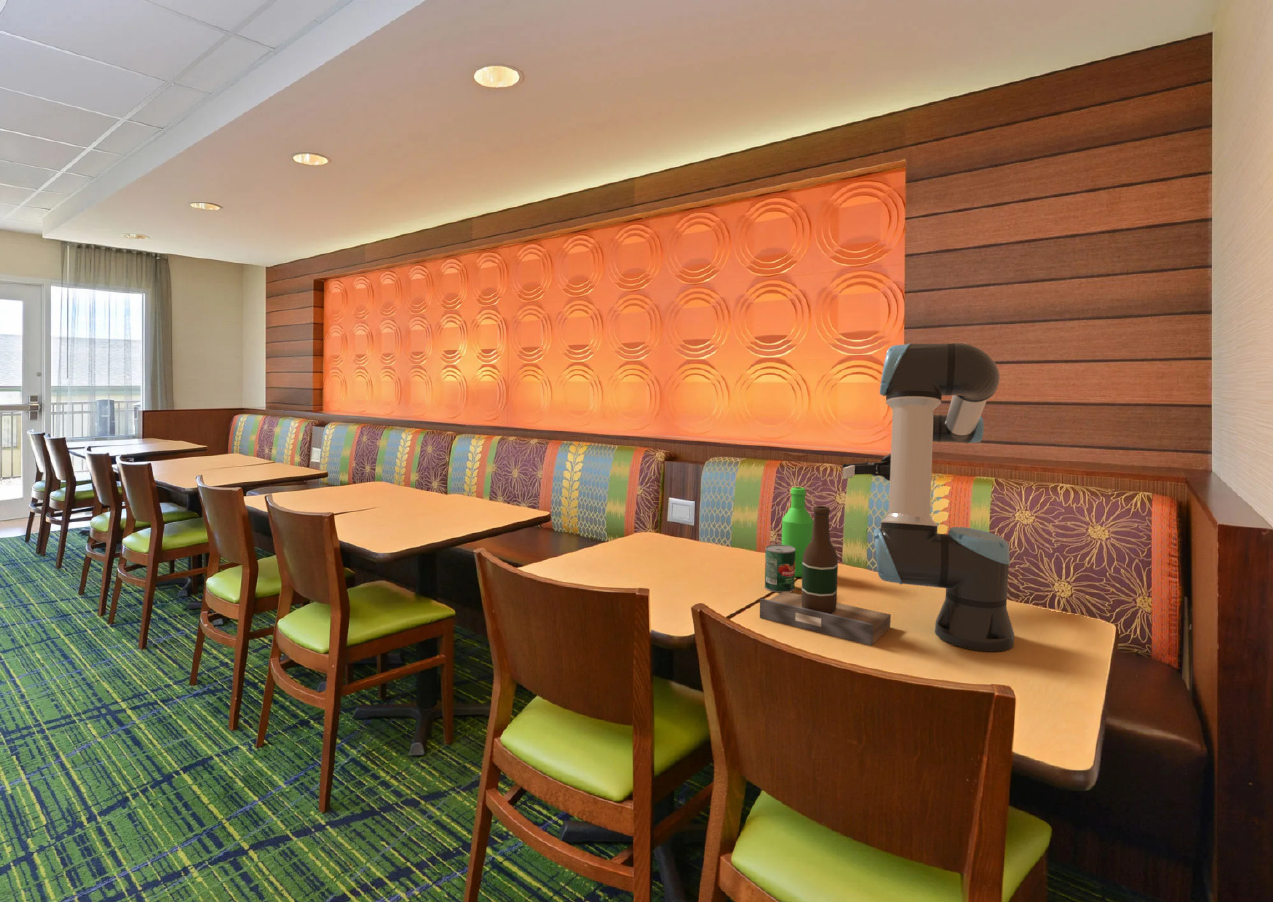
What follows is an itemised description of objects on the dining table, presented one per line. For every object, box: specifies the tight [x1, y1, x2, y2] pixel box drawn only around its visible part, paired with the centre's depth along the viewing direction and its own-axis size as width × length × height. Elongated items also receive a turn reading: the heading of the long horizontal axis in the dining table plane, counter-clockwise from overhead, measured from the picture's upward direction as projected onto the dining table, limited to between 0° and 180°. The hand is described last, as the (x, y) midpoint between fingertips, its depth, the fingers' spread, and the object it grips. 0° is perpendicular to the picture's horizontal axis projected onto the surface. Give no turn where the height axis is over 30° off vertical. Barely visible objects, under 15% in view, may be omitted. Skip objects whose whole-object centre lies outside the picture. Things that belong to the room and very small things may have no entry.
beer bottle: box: [801, 505, 839, 614], centre depth 147 cm, size 8×8×24 cm
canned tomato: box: [764, 544, 796, 594], centre depth 172 cm, size 8×8×11 cm
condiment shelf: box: [759, 591, 892, 646], centre depth 148 cm, size 26×13×4 cm, turn 52°
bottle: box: [781, 486, 814, 578], centre depth 184 cm, size 9×9×25 cm
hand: (871, 475), depth 158 cm, fingers open, 13 cm apart
